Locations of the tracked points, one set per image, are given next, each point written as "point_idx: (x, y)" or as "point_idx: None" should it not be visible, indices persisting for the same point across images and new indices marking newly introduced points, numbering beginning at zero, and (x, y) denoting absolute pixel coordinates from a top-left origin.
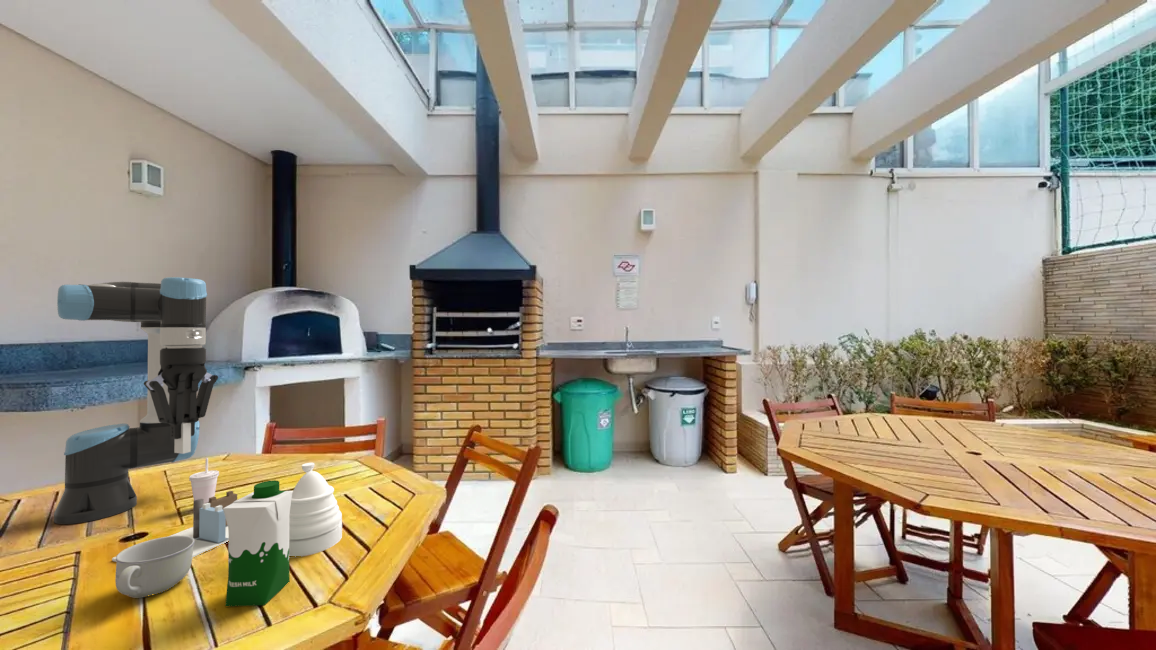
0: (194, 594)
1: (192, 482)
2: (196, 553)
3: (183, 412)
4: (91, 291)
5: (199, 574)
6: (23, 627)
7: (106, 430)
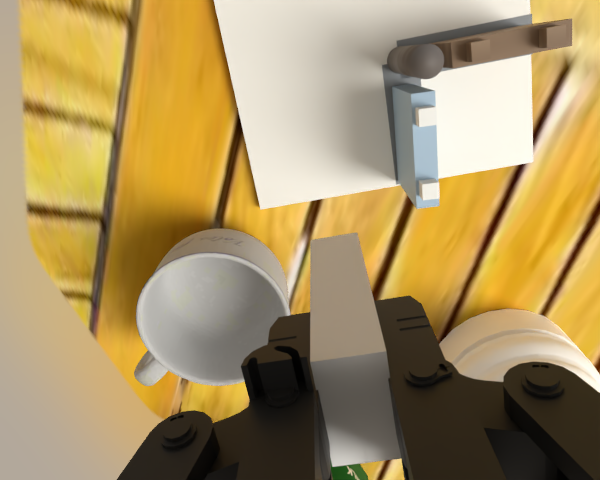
0: None
1: None
2: (339, 193)
3: (407, 450)
4: None
5: (300, 297)
6: (44, 214)
7: None
